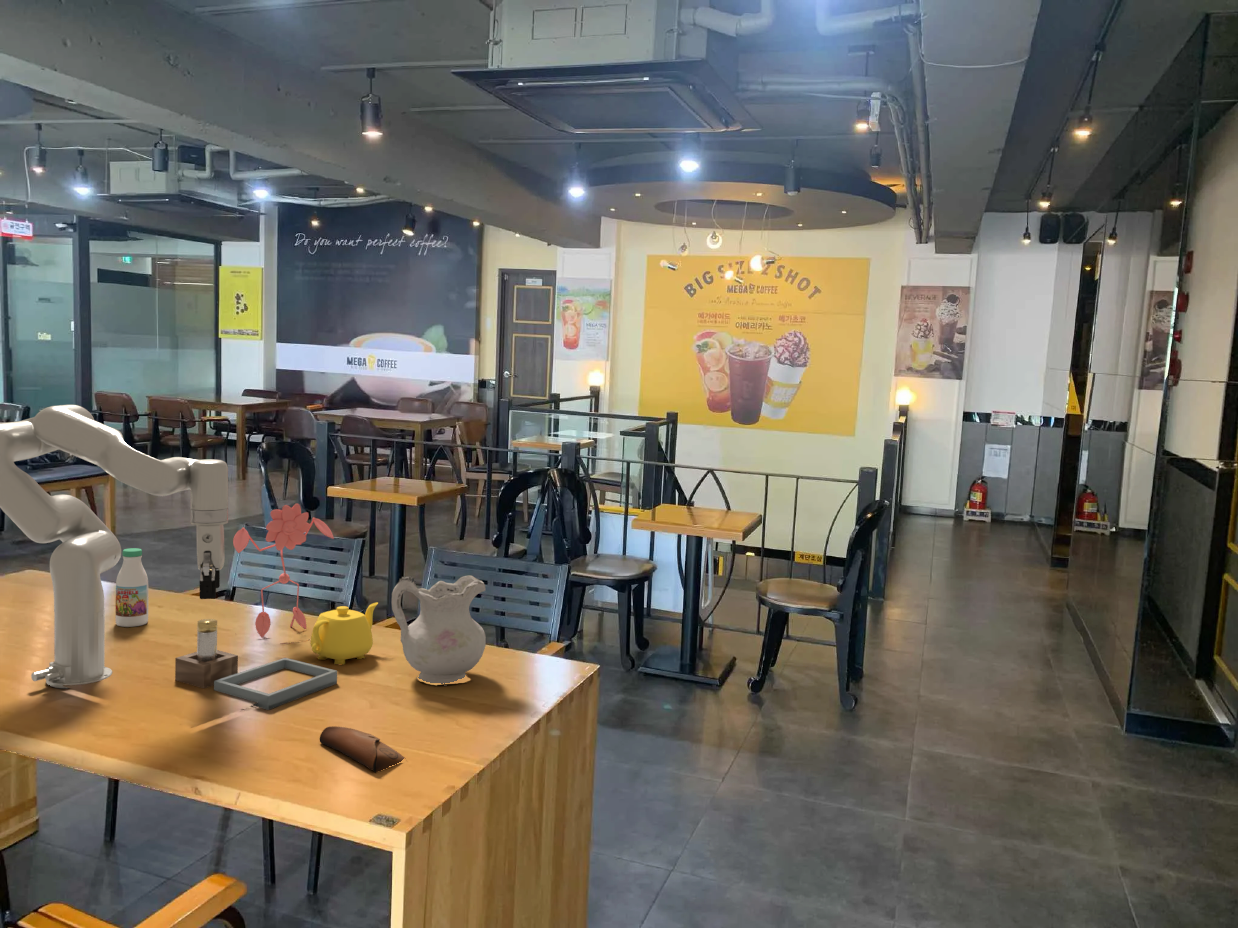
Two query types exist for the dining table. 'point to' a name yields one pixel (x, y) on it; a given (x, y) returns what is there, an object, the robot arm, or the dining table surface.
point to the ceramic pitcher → (441, 629)
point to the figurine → (288, 534)
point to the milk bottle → (132, 590)
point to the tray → (279, 697)
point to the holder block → (205, 669)
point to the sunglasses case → (361, 747)
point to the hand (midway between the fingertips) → (209, 593)
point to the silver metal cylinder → (207, 640)
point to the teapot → (343, 634)
